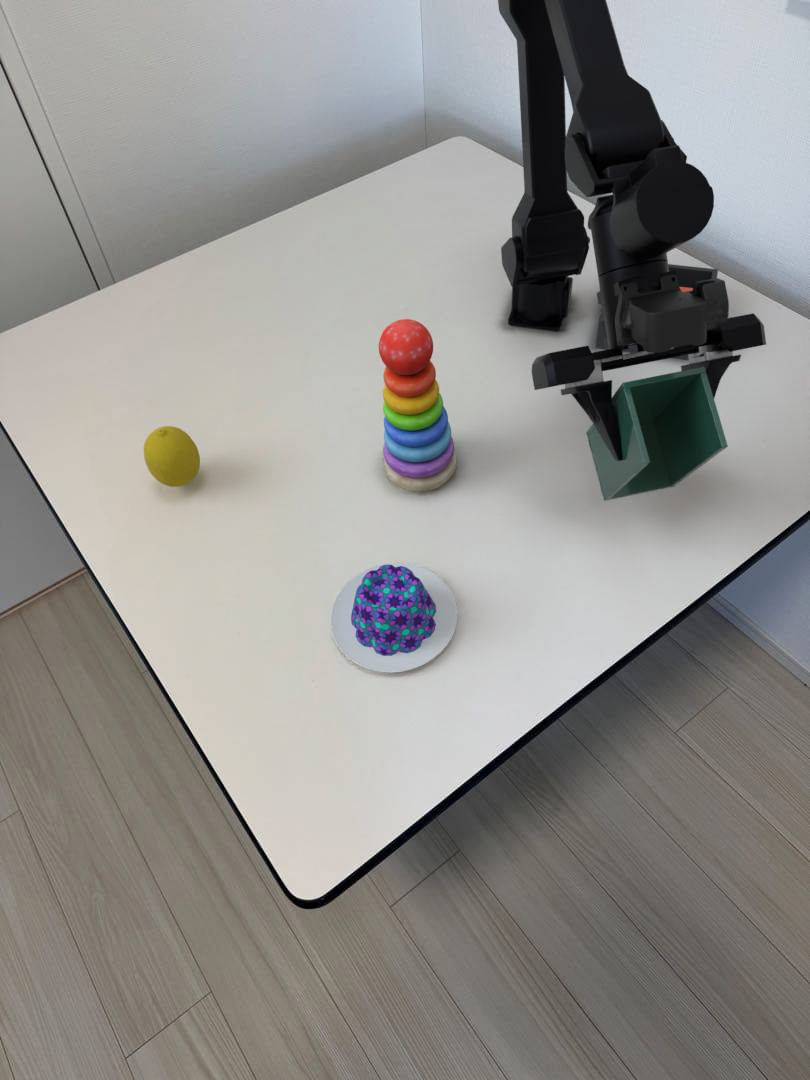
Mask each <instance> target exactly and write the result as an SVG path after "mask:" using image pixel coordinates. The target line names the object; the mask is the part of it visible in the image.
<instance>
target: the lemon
mask: <svg viewBox="0 0 810 1080" xmlns="http://www.w3.org/2000/svg"><path fill="white" fill-rule="evenodd" d="M143 458H144V462H145V465H146V468H147V469H148V472H149V473H150V474H151V475H152V477H153V478H154V479H155V480H156V481H157V482H159V483H160V484H162V485H164V486H167V487H172V488H178V487H183V486H186V485H188V484H189V483H191V482H192V481H193V480H194V479H195V478H196V477H197V475H198V473H199V470H200V466H201V456H200V452H199V449H198V446H197V444H196V442H194V440H193V439H192V437H191V436H190V435H189V434H188V433H187V432H185V430H183V429H181V428H179V427H177V426H172V425H171V426H170V425H165V426H161V427H157V428H155V429H153V431H151V432H150V433H149V434H148V435H147V437H146V439H145V441H144V444H143Z"/></svg>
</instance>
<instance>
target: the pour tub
mask: <svg viewBox="0 0 810 1080" xmlns="http://www.w3.org/2000/svg"><path fill="white" fill-rule="evenodd" d="M715 401H716V400H715V398H713V394H712V391H711V387H710V384H709V381H708V377H707V374H706V370H705V367H700V368H695V369H690V370H685V371H682V370H680V371H675V372H670V373H666V374H660V375H654V376H650V377H645V378H640V379H639V378H638V379H635V380H630V381H625V382H622V383H621V384H620V386H619V387H618V388H617V390H616V391H615V393H614V394H613V395H612V404H613V408H614V412H615V417H616V421H617V425H618V430H619V434H620V438H621V445H622V456H623V460H622V461H616V460H615V459H614V458H613V456H612V454H611V452H610V451H609V449H608V447H607V446H606V444H605V442H604V441H603V439H602V437H601V436H600V434H599V432H598V431H597V429H596V427H595V426H594V424H593V423H592V424H591V426H589V428H588V430H587V431H586V436H587V440H588V445H589V449H590V453H591V457H592V461H593V463H594V467H595V471H596V475H597V479H598V483H599V486H600V491H601V494H602V499H603V501H604V502H606V501H607V502H608V501H612V500H615V499H621V498H626V497H630V496H631V497H632V496H636V495H640V494H641V495H642V494H646V493H649V492H656V491H659V490H660V491H661V490H665V489H670V488H674V487H676V486H677V485H678V484H679V483H680V482H682V481H684V480H685V479H686V478H688V477H689V476H691V475H692V474H693V473H695V472H696V471H697V470H698V469H700V468H702V466H704V465H705V464H707V463H708V462H709V461H710V460H712V459H713V458H715V457H716V456H717V455H718V454H720V453H721V452H723V451H724V450H725V449H727V448H728V446H729V445H728V442H727V438H726V435H725V432H724V428H723V425H722V421H721V418H720V414H719V412H718V408H717V405H716V402H715Z"/></svg>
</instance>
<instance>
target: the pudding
mask: <svg viewBox="0 0 810 1080" xmlns="http://www.w3.org/2000/svg"><path fill="white" fill-rule="evenodd" d="M457 604H458V603H457V602H456V598H455V596H454V593H453V591H452V590H451V588H450V586H449V585H448V584H447V583H446V582H445V580H444V579H442V578H441V577H440V576H439V575H438V574H437V573H435V572H433V571H431V570H430V569H428V568H426V567H423V566H421V565H418V564H413V563H409V562H386V563H381V564H377V565H375V566H372V567H369V568H366V569H364V570H363V571H361V572H359V573H357V574H356V575H355V576H352V578H351V579H350V580H348V582H346V583H345V585H344V586H343V587H342V588H341V589H340V591H339V592H338V594H337V595H336V597H335V599H334V601H333V604H332V606H331V611H330V617H329V618H330V621H329V623H330V625H329V626H330V631H331V635H332V638H333V640H334V642H335V644H336V645H337V647H338V649H339V651H340V652H342V654H343V655H344V656H345V657H347V659H349V660H350V661H352V662H354V663H355V664H356V665H358V666H360V667H362V668H364V669H366V670H370V671H374V672H377V673H378V672H379V673H400V672H401V673H403V672H406V671H410V670H414V669H416V668H419V667H421V666H424V665H426V664H427V663H428V662H429V663H430V661H432V660H434V659H435V658H436V657H437V656H438V655H440V653H442V652H443V650H444V649H446V647H447V645H448V644H449V643H450V642H451V639H452V637H453V636H454V634H455V630H456V629H457V624H458V617H459V615H458V614H459V613H458V605H457Z"/></svg>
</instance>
